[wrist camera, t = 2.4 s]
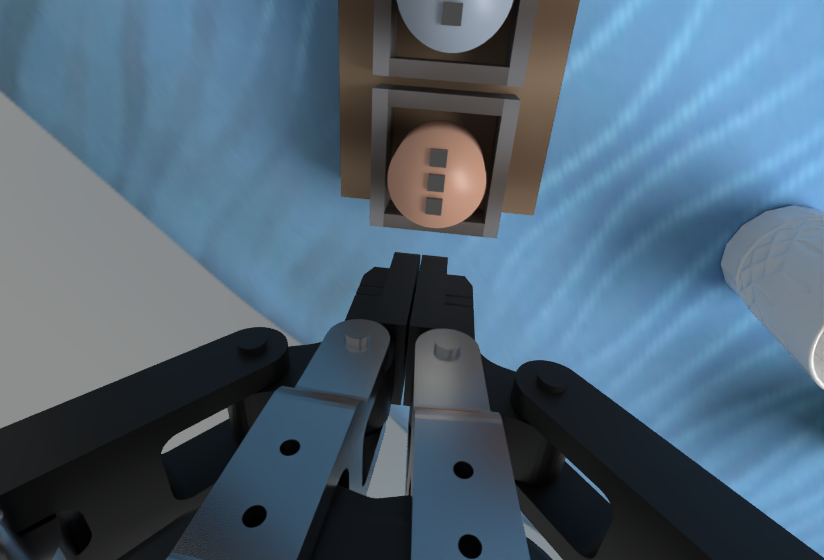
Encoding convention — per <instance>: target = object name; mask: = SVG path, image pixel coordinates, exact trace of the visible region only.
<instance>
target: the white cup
mask: <svg viewBox="0 0 824 560" xmlns="http://www.w3.org/2000/svg"><path fill="white" fill-rule="evenodd" d="M721 268H722V271H723V275H724V278H725V281H726V283H727V284H728V285H729V286H730V287H731V288H732V289H733V290H734V291H735V292H736V293H737V294H738V295H739V296H740V297H741V298H742V299H743V301H744V303H745V304H746V306H747V307H748V308H749V310H750V311H751V312H752V313H753V314H754V316H755V317H756V318H757V319H758V320H759V321H760V322H761V323H762V325H763V326H764V327H765V328H766V329H767V330H768V332H769V333H770V334H771V335H772V336H773V337H774V338H775V339H776V340H777V341H778V342H779V343H780V344H781V345H782V347H783V348H784V349H785V350H786V351H787V352H788V353H789V354H790V355H791V356H792V357H793V358H794V360H795V361H796V362H797V363H798V364H799V365H800V366H801V367H802V368H803V369H804V370H805V372H806V373H807V374H808V375H809V376H810V377H811V378H812V379H813V380H814V381H815V382H816V384H817V385H818V386H819V387H821V388H822V389H823V390H824V212H823V211H821V210H818V209H813V208H807V207H802V206H796V205H791V206H787V207H782V208H778V209H773V210H768V211H765V212H764V213H762V214H760V215H759V216H757V217H755V218H754V219H752V220H750V221H749V222H747V223H745V224H743V225H742V226H741V227H740V229H739V230H738V231H737V232H736V233H735V234H734V236H733V237H732V238H731V239H730V240H729V242H728V243H727V244H726V247H725V250H724V254H723V257H722V260H721Z"/></svg>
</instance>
